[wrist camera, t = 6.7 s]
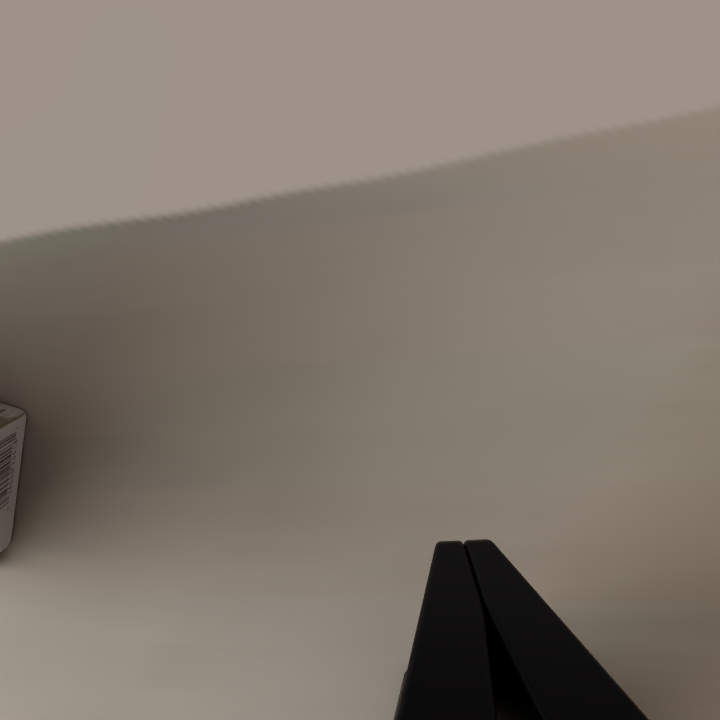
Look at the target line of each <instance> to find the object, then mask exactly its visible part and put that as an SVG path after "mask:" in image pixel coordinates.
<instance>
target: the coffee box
mask: <svg viewBox="0 0 720 720" xmlns="http://www.w3.org/2000/svg"><path fill="white" fill-rule="evenodd" d="M26 418H27V417H26V413H25V412H24V411H23V410H21V409H18V408H15V407H13V406H10V405H7V404H4V403H0V553H1V552H2V551H3V550H4V549H5V548H6V547H7V546H8V545H9V543H10V541H11V536H12V529H13V521H14V513H15V505H16V497H17V489H18V481H19V474H20V466H21V457H22V449H23V441H24V433H25V426H26Z"/></svg>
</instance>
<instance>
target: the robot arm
mask: <svg viewBox="0 0 720 720" xmlns="http://www.w3.org/2000/svg"><path fill="white" fill-rule="evenodd" d="M394 720H649V719H648V718H647V717H646V716H645V715H644V714H643V713H642V711H641V710H640V709H639V708H638V707H637V706H636V705H635V703H634V702H633V701H632V700H631V699H630V698H629V697H628V695H627V694H626V693H625V692H624V691H623V690H622V689H621V687H620V686H619V685H618V684H617V683H616V682H615V681H614V680H613V678H612V677H611V676H610V675H609V674H608V673H607V672H606V670H605V669H604V668H603V667H602V666H601V665H600V664H599V662H598V661H597V660H596V659H595V658H594V657H593V656H592V654H591V653H590V652H589V651H588V650H587V649H586V648H585V647H584V645H583V644H582V643H581V642H580V641H579V640H578V639H577V637H576V636H575V635H574V634H573V633H572V632H571V631H570V629H569V628H568V627H567V626H566V625H565V624H564V623H563V621H562V620H561V619H560V618H559V617H558V616H557V615H556V613H555V612H554V611H553V610H552V609H551V608H550V607H549V606H548V604H547V603H546V602H545V601H544V600H543V599H542V598H541V596H540V595H539V594H538V593H537V592H536V591H535V590H534V588H533V587H532V586H531V585H530V584H529V583H528V582H527V580H526V579H525V578H524V577H523V576H522V575H521V574H520V573H519V571H518V570H517V569H516V568H515V567H514V566H513V565H512V563H511V562H510V561H509V560H508V559H507V558H506V557H505V555H504V554H503V553H502V552H501V551H500V550H499V549H498V547H497V546H496V545H495V544H494V543H493V542H492V541H490V540H487V539H483V540H467V541H465V542H464V544H463V543H462V542H461V541H441V542H438V543H437V544H436V546H435V550H434V554H433V559H432V563H431V567H430V572H429V576H428V581H427V585H426V589H425V594H424V598H423V603H422V607H421V611H420V616H419V620H418V625H417V629H416V633H415V638H414V642H413V647H412V651H411V655H410V660H409V664H408V669H407V671H406V672H405V674H404V678H403V682H402V686H401V690H400V695H399V699H398V703H397V707H396V712H395V716H394Z"/></svg>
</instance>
